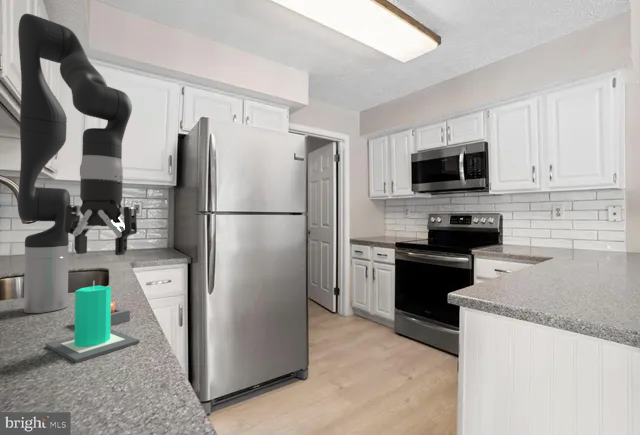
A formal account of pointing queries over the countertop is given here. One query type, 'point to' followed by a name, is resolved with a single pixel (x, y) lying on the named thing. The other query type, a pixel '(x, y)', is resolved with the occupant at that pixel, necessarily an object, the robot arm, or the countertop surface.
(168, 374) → the countertop surface
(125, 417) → the countertop surface
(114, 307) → the button
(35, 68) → the robot arm
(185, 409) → the countertop surface
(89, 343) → the candle
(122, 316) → the button box
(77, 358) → the grey flat plate
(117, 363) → the countertop surface
